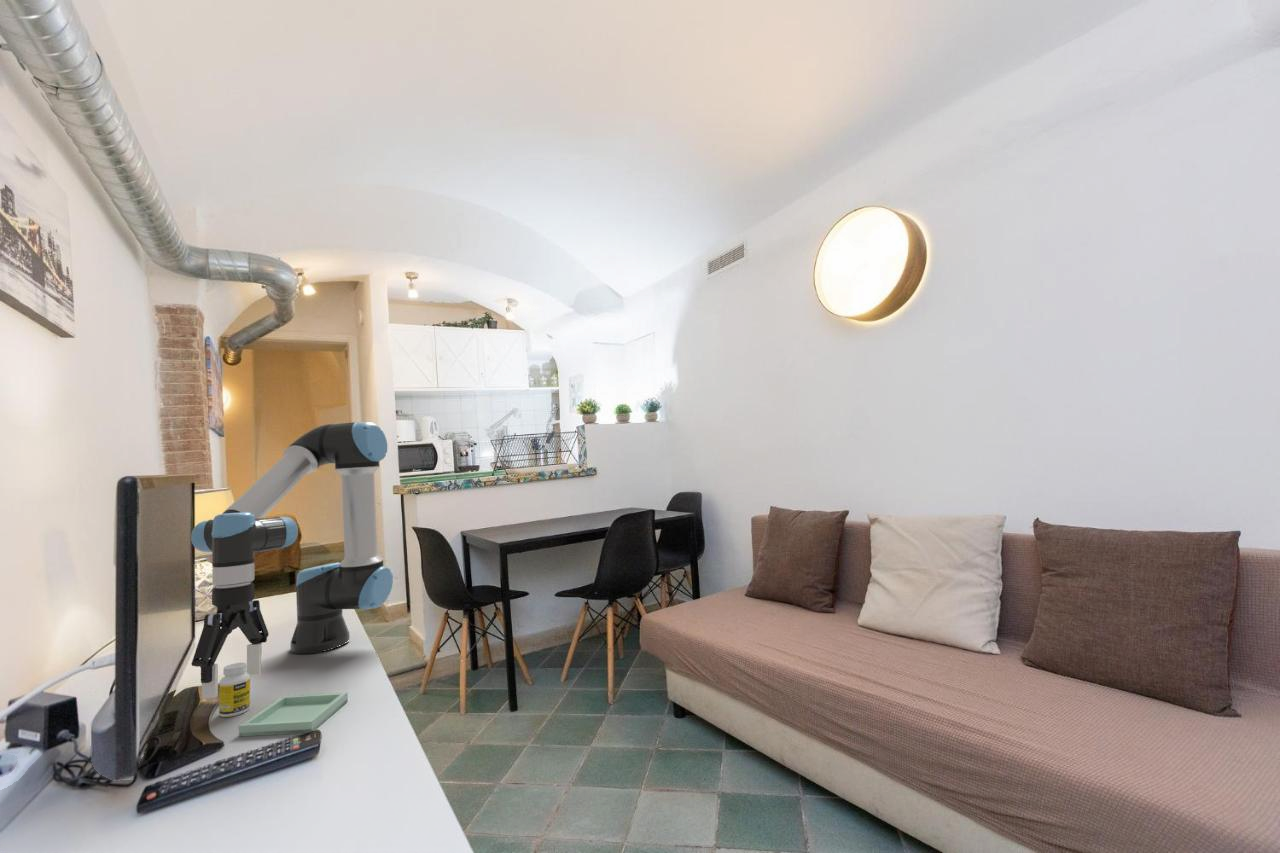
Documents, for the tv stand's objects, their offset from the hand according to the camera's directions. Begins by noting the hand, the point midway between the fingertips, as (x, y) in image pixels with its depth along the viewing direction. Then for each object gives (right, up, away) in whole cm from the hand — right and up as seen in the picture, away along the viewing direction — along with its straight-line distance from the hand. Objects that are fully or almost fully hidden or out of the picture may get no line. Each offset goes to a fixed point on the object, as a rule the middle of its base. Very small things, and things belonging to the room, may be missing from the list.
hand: (233, 685), depth 122 cm
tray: (+16, -5, -5) cm, 18 cm away
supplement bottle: (0, -6, 0) cm, 6 cm away
